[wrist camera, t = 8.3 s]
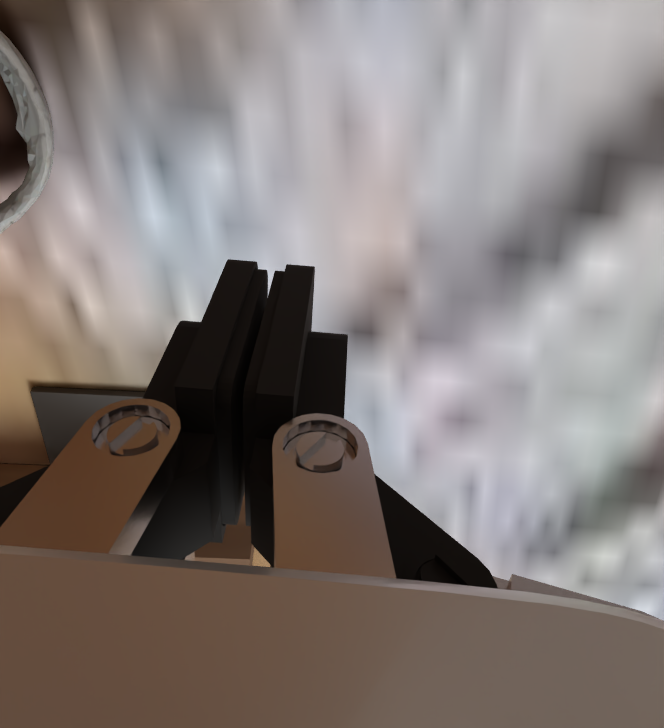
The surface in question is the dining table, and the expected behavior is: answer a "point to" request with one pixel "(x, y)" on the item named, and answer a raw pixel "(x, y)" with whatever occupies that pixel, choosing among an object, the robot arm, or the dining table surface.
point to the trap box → (64, 419)
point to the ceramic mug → (26, 131)
